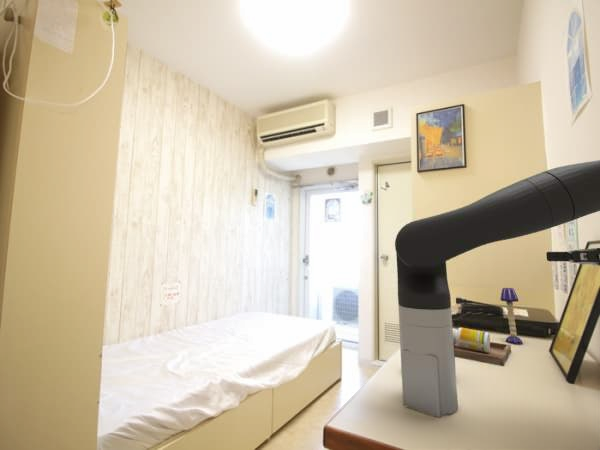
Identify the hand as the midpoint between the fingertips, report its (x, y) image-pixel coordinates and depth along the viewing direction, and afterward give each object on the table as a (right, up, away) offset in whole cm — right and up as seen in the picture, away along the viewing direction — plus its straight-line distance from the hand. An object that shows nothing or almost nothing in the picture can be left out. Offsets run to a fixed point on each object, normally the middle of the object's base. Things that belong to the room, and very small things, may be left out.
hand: (547, 256), depth 71 cm
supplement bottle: (-9, -24, +8) cm, 27 cm away
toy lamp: (+6, -29, +19) cm, 35 cm away
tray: (-11, -28, +10) cm, 32 cm away
